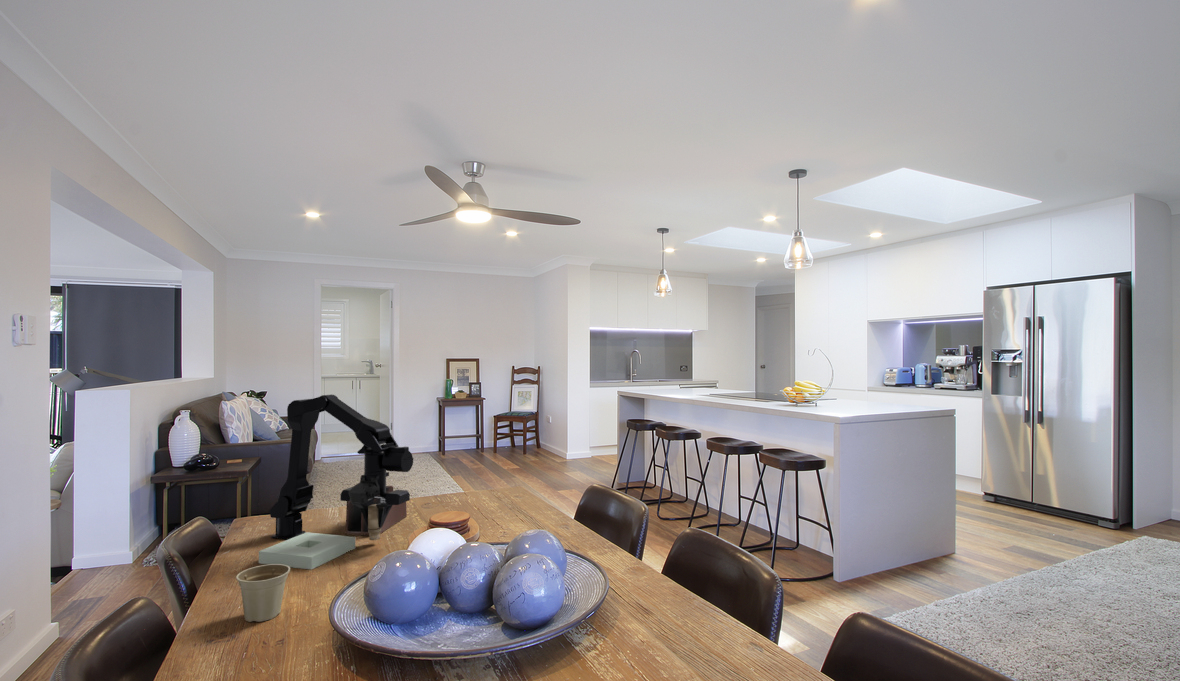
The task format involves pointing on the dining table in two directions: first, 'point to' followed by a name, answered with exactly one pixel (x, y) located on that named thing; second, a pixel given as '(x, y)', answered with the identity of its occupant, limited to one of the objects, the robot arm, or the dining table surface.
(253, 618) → the flower pot
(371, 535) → the peg
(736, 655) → the dining table surface
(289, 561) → the board
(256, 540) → the dining table surface
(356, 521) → the letter holder
